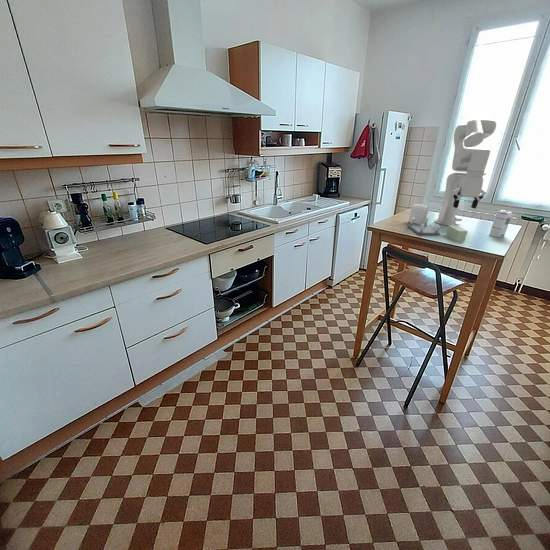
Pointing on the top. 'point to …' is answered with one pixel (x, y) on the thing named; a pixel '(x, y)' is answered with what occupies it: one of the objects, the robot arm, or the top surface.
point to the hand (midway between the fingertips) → (464, 207)
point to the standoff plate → (425, 231)
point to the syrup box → (500, 223)
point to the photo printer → (418, 213)
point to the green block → (456, 233)
